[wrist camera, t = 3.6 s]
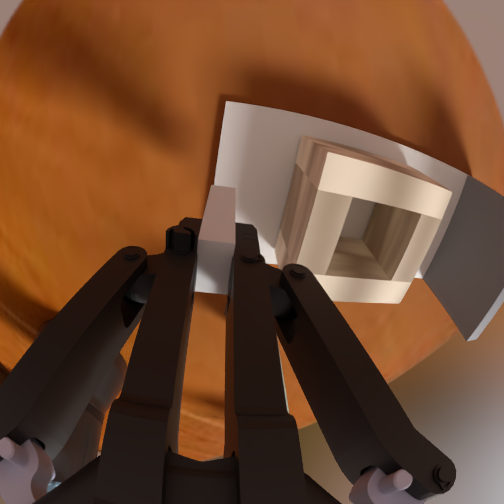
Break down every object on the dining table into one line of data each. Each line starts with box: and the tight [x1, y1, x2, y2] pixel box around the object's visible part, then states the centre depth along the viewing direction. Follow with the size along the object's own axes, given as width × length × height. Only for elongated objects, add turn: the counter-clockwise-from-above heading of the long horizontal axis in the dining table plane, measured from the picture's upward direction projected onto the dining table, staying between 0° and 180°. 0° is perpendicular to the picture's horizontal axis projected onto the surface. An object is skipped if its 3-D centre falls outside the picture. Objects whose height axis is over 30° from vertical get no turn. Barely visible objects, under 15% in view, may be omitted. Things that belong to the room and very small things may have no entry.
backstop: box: [214, 101, 504, 341], centre depth 18 cm, size 26×13×11 cm, turn 80°
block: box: [274, 135, 452, 303], centre depth 19 cm, size 10×10×6 cm
